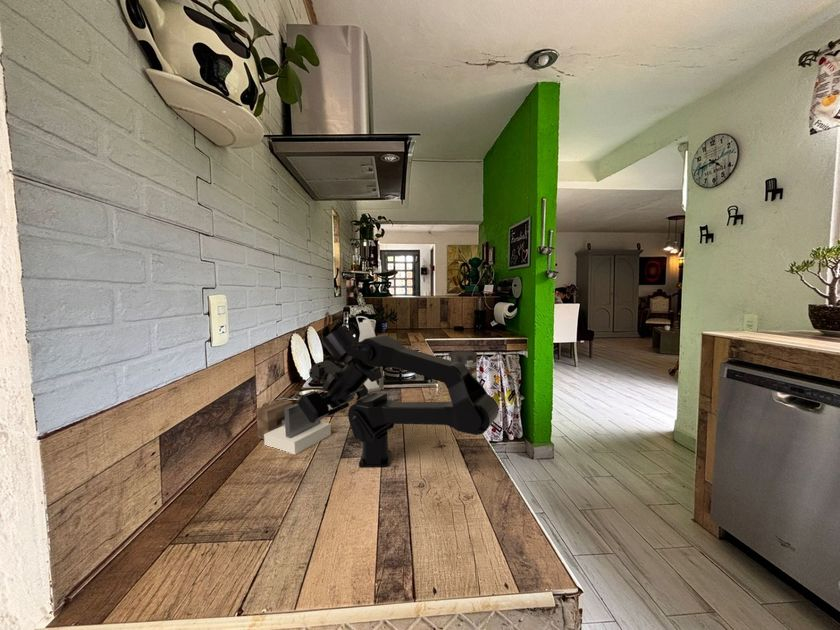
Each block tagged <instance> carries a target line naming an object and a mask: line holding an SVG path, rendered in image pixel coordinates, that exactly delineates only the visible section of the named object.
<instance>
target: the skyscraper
mask: <svg viewBox="0 0 840 630" xmlns="http://www.w3.org/2000/svg"><path fill="white" fill-rule="evenodd" d="M359 318H360V319H361V318H363V320H362V321H359ZM355 319H356V322H357V325H358V329H359V338H358V342H361V341H363V340H364V339H367V338H371V337H375V336H376V332H375V329H376V323H377V321H376V320H375V319H371V318H370V319H369V318H368V317H366V316H361V315H357V316H356V317H355ZM380 368H381V370H380V371H381V374H382V378H381V379H378V382H377V380H376V381H374V382H371V381H370V380H369V378H368V380H367V381H366V382H365V383H364V385H365V386H366V388H367V389H368V393H372V392H373V393H374V392H377V391H382V390H381V389H383V390H385V389H384V388H385V387H384V374H383V371H384V370H383V368H384V367H380ZM378 385H379V388H376V387H378ZM383 387H384V388H383Z"/></svg>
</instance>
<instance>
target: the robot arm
mask: <svg viewBox="0 0 840 630" xmlns="http://www.w3.org/2000/svg"><path fill="white" fill-rule="evenodd" d="M322 344H323V346H324V347H325V348H326V349H327V351H328V352H329V353H330V355H331V356H332V357H333V359H334V360H335V362H336V363H343V364H346V363H347V364H346V365H345V366H344V367H343V368H341V367H340V366H338V365H337V364H335V363H334V362H332V361H331V360H327V359H326V360H323V361H320V362H317V363H315V364H313V365H312V367H311V368H309V374H308V375H309V376H310V378H311V379H312V380H314V381H315V382H317V381H319V382H321V383H322V389H323V390H324V391H321V392H318V391H316V390H312V391H310V392H306V393H304V394H302V395H300V396H299V398H298V399H297V402H296V403H297V404H298V405H299V407H300V408H301V410H302V411H303V412H304V414H305V415H306V417H307V418H308V420H309V421H310V422H311V423H315V422H317V421H319V420H320V421H321V420H323V419H325V418H327V417H330V416H333V415H334V414H337V413H338V412H340V411H343V410H344V409H347V408H348V407H349V409H348V412H347V413H348V414H347V416H348V417H347V418H348V421H349V422H348V423H349V426H350V428H351V432H352V434H353V435H352V436H353V437H354V440H355V439H356V440H359V442H360V443H361V448H362V449H361V452H362V453H361V455H360V459H359V461H358V467H360V468H372V467H373V468H375V467H376V468H378V467H383V468H385V467H389V466H390V461H391V455H392V450H389V440H388V439H389V437H388V436H389V433H388V432H389V430H391V429H393V428H395V425H426V426H429V425H430V426H431V425H432V426H447V427H450V428H452V429H453V430H455V431H457V432H459V433H465V434H469V435H473V436H477V435H478V436H480V435H482V434H484V433H485V432H486V431H487V430H488V429H489V427H490V426H491V425H492V424H493V423H494V421H495V420H496V419H497V418H498V415H499V406H498V402H496V400H495V399H494V398H493V397H492V396H491V395H490V394H488V392H487V391H486V389H485V387H484V385H482V384H481V382H480V381H478V379H477V380H476V379H475V378H474V377H473V376H472V375H471V373H470V371H469V370H468V368H467V367H466V366H465V365H464V364H463V363H461V362H453V361H450V360H449V359H445V358H443V357H440V356H436V355H432V354H430V353H426V352H423V351H418V350H416V349H415V350H414V349H412V348H408V347H406V346H404V345H402V344H401V342H399V341H398V340H396V339H394V338H392V337H390V336H388V335H386V334H381V335H375V337H371V338H367V339H364V340H363V341H361V342H359V340H357V339H356V338H355V336H354V335H353V334H352V332H351V331H350V329H349V328H348V327H347V325H340V326H338V328H337V329H335V330H333V331H332V332H330V333H328V335H326V336H325V337H324V338H323V339H322ZM380 367H383V368H388V367H389V368H397V369H400V370H403V371H406V372H408V373H409V372H410V373H413V374H416V375H419V376H422V377H425V378H428V379H431V380H433V381H437V382H440V383H443V384H444V386H445V388H447V390H448V394H449V397H450V401H401V402H400V401H396V402H395V401H394V402H393V401H391V400H389V399H388V392H387V393H381V394H378V393H376V392H373V393H371V394H370V395H369V392H368V389H367V388H366V386H365V385H364V383H365V382H366V381H367V380H368V378H369V380H370V381H371V382H374V381H376V382H377V381H379V379H381V378H382V374H381V371H380V370H381V368H380ZM355 396H357V397H356V398H355ZM354 399H355V400H356V401H355V403H353V404H352V405H350V404H349V403H350V402H352V401H354Z"/></svg>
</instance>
